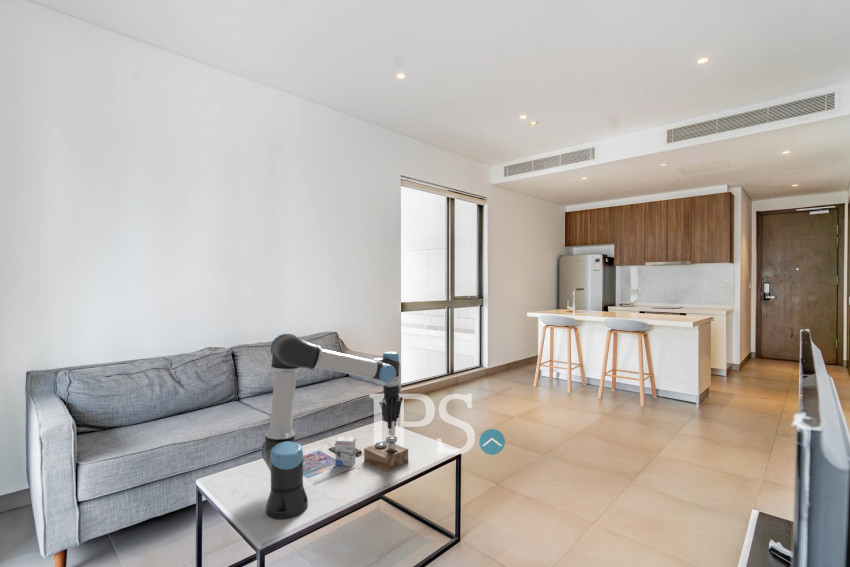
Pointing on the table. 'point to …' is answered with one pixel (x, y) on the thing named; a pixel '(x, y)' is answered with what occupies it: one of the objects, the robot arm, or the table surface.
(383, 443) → the peg far
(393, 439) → the peg near
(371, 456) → the socket block
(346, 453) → the ink box
